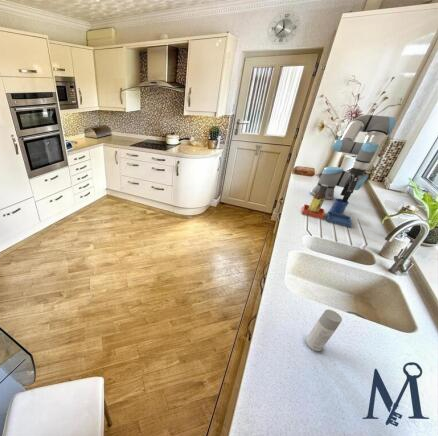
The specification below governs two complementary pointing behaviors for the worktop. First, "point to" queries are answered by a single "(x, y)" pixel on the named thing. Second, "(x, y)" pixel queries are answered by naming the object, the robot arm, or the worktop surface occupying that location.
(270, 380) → the worktop surface
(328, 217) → the blue tray
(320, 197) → the sauce bottle
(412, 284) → the worktop surface
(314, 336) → the container
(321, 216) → the red tray
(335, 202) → the blue cup
